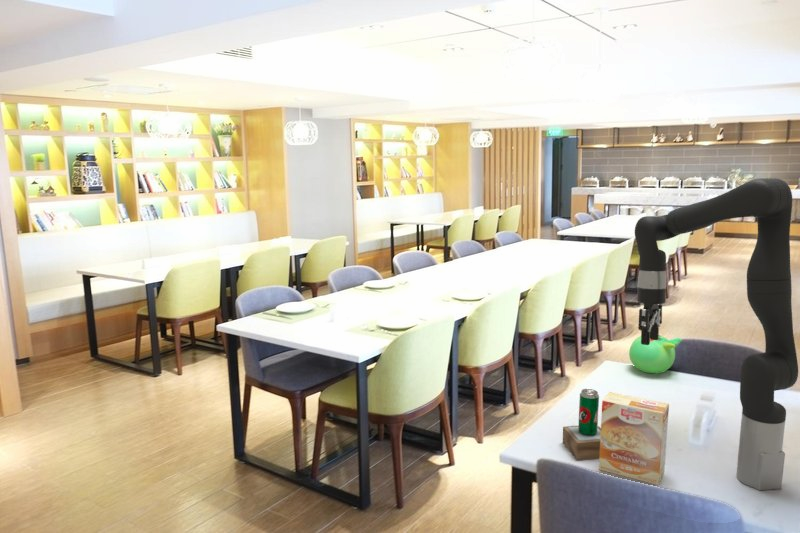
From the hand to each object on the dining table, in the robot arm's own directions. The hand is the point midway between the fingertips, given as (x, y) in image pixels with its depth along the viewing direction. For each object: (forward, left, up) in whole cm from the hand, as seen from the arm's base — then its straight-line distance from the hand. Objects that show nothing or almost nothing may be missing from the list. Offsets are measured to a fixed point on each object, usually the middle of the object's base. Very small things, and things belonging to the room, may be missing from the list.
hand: (649, 342), depth 175 cm
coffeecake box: (-21, +15, -28) cm, 38 cm away
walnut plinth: (-8, +22, -28) cm, 36 cm away
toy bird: (+45, -28, -28) cm, 60 cm away
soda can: (-8, +22, -23) cm, 32 cm away
